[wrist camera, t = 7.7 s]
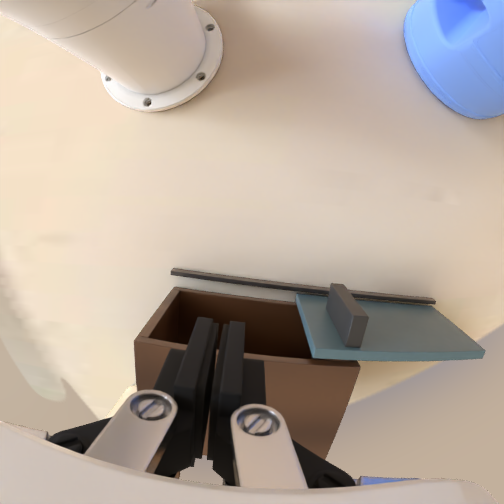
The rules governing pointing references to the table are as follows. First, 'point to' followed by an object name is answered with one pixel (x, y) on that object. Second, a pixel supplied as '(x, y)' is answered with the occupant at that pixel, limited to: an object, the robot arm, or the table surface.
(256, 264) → the table surface
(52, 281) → the table surface
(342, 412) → the cabinet
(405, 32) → the water jug
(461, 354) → the glass door
